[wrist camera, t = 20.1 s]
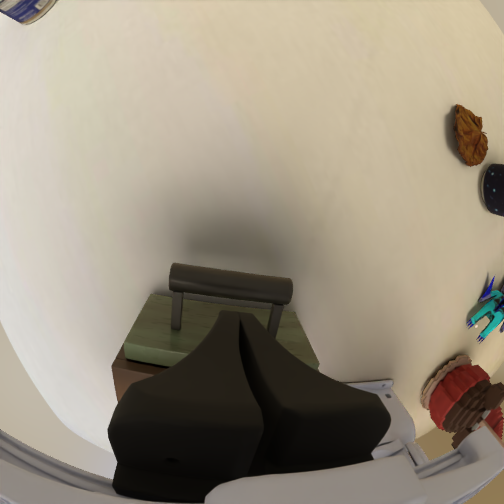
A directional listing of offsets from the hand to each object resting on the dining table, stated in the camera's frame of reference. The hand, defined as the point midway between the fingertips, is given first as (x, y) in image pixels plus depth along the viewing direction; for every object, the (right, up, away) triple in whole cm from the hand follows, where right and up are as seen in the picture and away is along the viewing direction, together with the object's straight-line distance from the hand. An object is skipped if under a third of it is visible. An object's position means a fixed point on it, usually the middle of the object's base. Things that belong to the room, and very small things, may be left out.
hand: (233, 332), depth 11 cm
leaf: (+22, +15, +9) cm, 28 cm away
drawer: (-2, -5, +11) cm, 12 cm away
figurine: (+32, -2, +15) cm, 36 cm away
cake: (+28, -15, +18) cm, 37 cm away
